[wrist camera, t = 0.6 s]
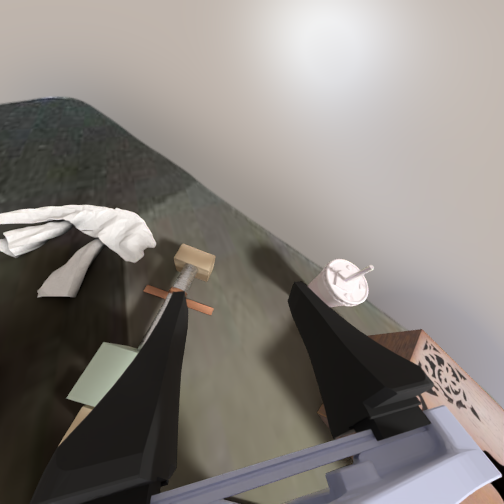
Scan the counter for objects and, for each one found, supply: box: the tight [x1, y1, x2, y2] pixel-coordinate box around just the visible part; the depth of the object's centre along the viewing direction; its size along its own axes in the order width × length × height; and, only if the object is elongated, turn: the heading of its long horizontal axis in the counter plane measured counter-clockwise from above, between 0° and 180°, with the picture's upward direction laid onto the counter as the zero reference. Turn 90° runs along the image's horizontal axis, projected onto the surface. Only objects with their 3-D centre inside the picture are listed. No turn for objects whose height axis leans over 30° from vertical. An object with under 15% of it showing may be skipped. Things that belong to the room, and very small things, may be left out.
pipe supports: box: [59, 244, 216, 445], centre depth 22 cm, size 21×10×4 cm, turn 164°
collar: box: [66, 342, 139, 407], centre depth 18 cm, size 4×6×7 cm
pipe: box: [137, 263, 198, 351], centre depth 21 cm, size 21×2×2 cm, turn 164°
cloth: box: [0, 205, 157, 297], centre depth 25 cm, size 20×22×2 cm
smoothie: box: [308, 259, 374, 307], centre depth 26 cm, size 6×6×14 cm
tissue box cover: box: [317, 329, 504, 504], centre depth 21 cm, size 26×14×10 cm, turn 41°
